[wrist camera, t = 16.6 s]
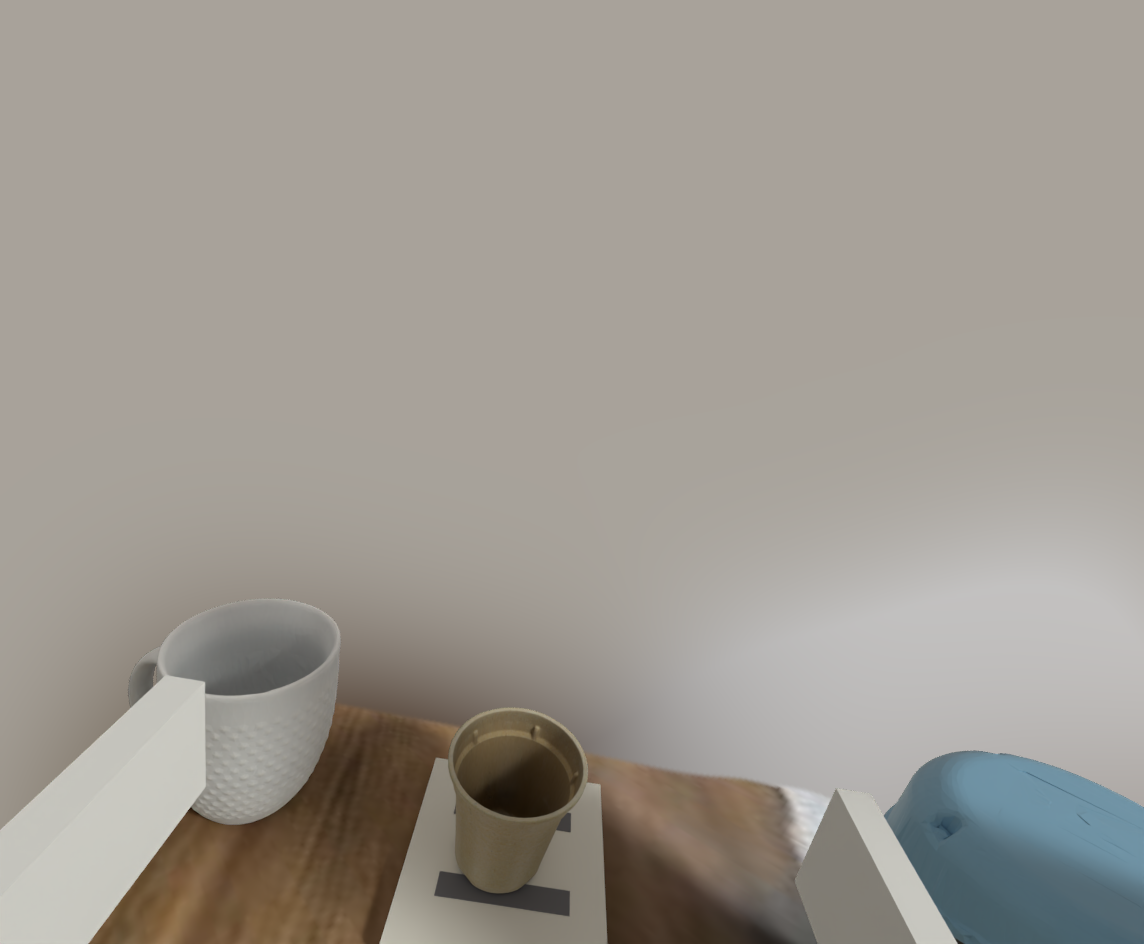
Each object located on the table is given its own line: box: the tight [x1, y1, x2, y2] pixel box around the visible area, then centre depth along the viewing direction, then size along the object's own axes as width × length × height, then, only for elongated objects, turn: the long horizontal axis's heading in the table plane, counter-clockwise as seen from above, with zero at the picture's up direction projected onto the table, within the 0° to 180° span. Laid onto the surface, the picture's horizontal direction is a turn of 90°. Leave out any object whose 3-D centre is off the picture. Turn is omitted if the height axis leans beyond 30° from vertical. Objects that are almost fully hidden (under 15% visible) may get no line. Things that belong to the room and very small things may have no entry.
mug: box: [128, 598, 341, 825], centre depth 41 cm, size 15×11×13 cm
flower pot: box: [448, 708, 588, 893], centre depth 39 cm, size 9×9×9 cm
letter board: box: [380, 758, 607, 944], centre depth 40 cm, size 14×14×1 cm
